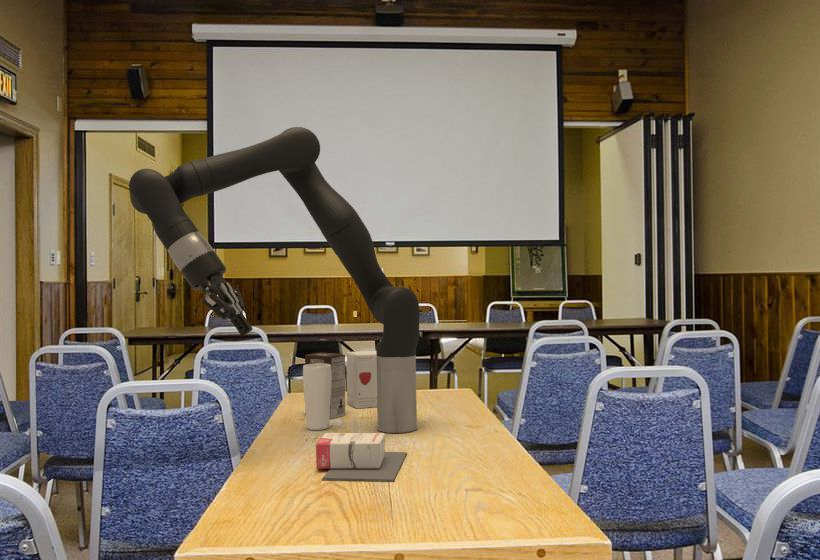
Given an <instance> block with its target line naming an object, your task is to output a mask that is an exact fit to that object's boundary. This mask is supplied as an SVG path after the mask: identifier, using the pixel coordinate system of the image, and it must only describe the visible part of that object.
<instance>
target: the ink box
mask: <svg viewBox="0 0 820 560" xmlns="http://www.w3.org/2000/svg"><path fill="white" fill-rule="evenodd" d="M385 433H386V432H374V433H373V432H325V433H323V435H322V436H321V437H320V438H319V440H318V441H317V442H316V443H315V463H316V464H315V465H316V466H315V467H316V469H317V470H319V469H320V470H322V469H325V470H326V469H328V470H330V469H336V468H380V465H381V463H382V461H383V458H384V452H386V451H385V449H386V448H385V445H386V434H385Z"/></svg>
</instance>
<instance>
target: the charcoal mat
mask: <svg viewBox="0 0 820 560" xmlns="http://www.w3.org/2000/svg"><path fill="white" fill-rule="evenodd" d="M407 454H408V452H407V451H385V452H384V458H383V461H382V463H381V465H380V468H336V469H328V471H327V472H326V473H325V474H324V476H323V477H322V479H321V480H322V481H336V482H337V481H344V482H345V481H347V482H387V483H388V482H391V483H392V482H393V483H394V482H395V480H396V479H397V476H398V474H399V472H400V470H401V467H402V466H403V463H404V461H405V459H406V457H407Z"/></svg>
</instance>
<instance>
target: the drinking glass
mask: <svg viewBox="0 0 820 560" xmlns="http://www.w3.org/2000/svg"><path fill="white" fill-rule="evenodd" d="M331 385H332V372H331V365H330V364H307V365H305V364H304V365H303V366H302V386H303V395H304V409H305V408H306V415H305V418H306V419H305V420H306V428H307V429H308V430H310V431H323V430H327V429H329V427H330V419H329V414H330V399H331Z"/></svg>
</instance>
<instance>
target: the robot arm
mask: <svg viewBox="0 0 820 560" xmlns="http://www.w3.org/2000/svg"><path fill="white" fill-rule="evenodd" d="M320 153H321V144H320V140H319V139H318V136H317V135H316V134H315V133H314V132H313V131H312V130H310V129H308V128H306V127H302V126H293V127H289V128H287V129H285V130H284V131H282V132H281V133H279V134H277V135H275V136H273V137H271V138H268V139H266V140H263V141H262V142H261V141H260V142H259V143H255V144H252V145H250V146H245V147H243V148H240V149H236V150H231V151H226V152H223V153H217V154H215V155H212V156H208V157H203V158H199V159H197V160H192V161H189V162H185V163H182V164H179V165H178V166H177V167H176V169H175V170H174V171H173V172H172V173H171V174H168V175H166V176H164V175H163V174H162V173H161V172H159V171H157V170H155V169H153V168H141V169H139V170H136V171H135V172H134V173H133V174H132V175H131V177H130V178H129V179H130V180H129V183H128V191H129V198H130V203H131V205H132V207H133V208H134V209H135V210H136V211H137V212H139V214H140V213H141V214H143V215H146V216H147V217H148V219H149V220H150V221H151V223H152V227H153V230H154V233H155V234H156V236H157V238H158V239H159V241H160V242H161V244H162V245H163V246H164V248H165V249H166V251H167V252H168V254H169V256H170V259H171V260H172V262H173V263H174V264H175V266H176V267H177V269H178V270H179V271H180V273H181V275H182V276H183V277H184V279H185V280H186V282H187V283H188V285H189V286H190V287H191V289H192V290H194V291H199V290H201V291H202V293H203V294H204V295H205V298H203V299H202V303H203V304H204V306H206V307H207V308H209V309H210V310H211V311H212V312H213V313H215V314H216V315H217V316H219V317H220V319H223V320H226V319H227V321H229V322H231V323H232V325H233V326H234V327H235V329H236V330H237V332H238V333H239V334H240V336H241V337H243V336H246V335H247V334H249V333H250V332H252V331H253V327H252V325H251V323H250V322H249V321H248V319H247V318H246V317H245V315H244V311H245V310H246V307H245V304H244V301H243V297H242V295H241V290H240V289H239V288H237V287H236V288H234V289H233V287H232V286H231V284H230V282H228V281H227V280H225V278H224V277H223V276H224V274H225V273H226V272H227V267H226V265H225V264H224V262H222V260H221V258H220V257H219V255H218V254H217V252H216V251H215V249H214V248H213V247H212V246H211V244H210V243H209V242H208V240H207V239H206V238H205V237H204V236H203V235H202V234H201V232H200V231H199V229H198V227H196V225H195V224H194V223H193V221H192V219H191V218H190V217H189V216H188V215H187V213H186V212H185V210H184V208H183V207H182V204H184V203H186V202H188V201H189V200H191V199H193V198H198V197H201V196H205V195H208V194H212V193H216V192H218V191H221V190H226V189H227V188H230V187H233V186H235V185H237V184H240V183H243V182H245V181H247V180H249V179H253V178H255V177H259V176H262V175H265V174H269V173H273V172H277V171H278V172H279V173H280V174H281V175H282V177H283V178H284V179H285V180H286V182H287V183H289V185H290V187H292V188H293V190H294V191H295V192H296V194H297V195H298V197H299V198H300V200H301V201H302V203H303V204H304V206H305V208H306V210H307V211H308V213H309V215H310V217H311V218H312V219H313V221H314V222H315V224H316V225H317V227H318V229H319V230H320V232H321V234H322V235H323V238H324V239H325V240H326V242H327V243H328V245H329V246H330V248H331V250H332V251H333V252H334V254H335V255H336V256H337V258H338V260H340V262H341V264H342V265H343V267H344V268H345V270H346V271H347V273H348V274H349V275H350V278H352V280H353V282H354V283H355V284H356V287H357V288H358V290H359V293H360V294H361V296H362V298H363V300H364V301H365V303H366V305H367V307H368V309H369V311H370V313H371V316H372V317H373V318H374V319H375V320H376V321H377V322H379V323H380V324H381V325H383V328H382V330H383V331H382V337H381V340H380V341H379V342H378V343H377V344H376V350H375V351H376V355H377V356H376V357H377V407H376V409H377V411H376V413H377V416H376V417H377V418H376V420H377V421H376V423H377V431H379V432H381V433H389V434H400V433H401V434H402V433H409V432H413V431H416V430H417V429H418V424H417V423H418V421H417V420H418V419H417V417H418V415H417V411H418V410H417V407H418V406H417V364H416V363H417V359H416V357H417V355H416V354H417V351H416V349H417V346H418V343H419V340H420V317H421V315H420V304H419V300H418V297H417V295H416V294H415V292H413V290H411V289H410V288H407V287H406V286H405V287H404V286H394V285H393V284H392V282H391V281H390V280H389V279H388V277H387V275H386V274H385V272H384V271H383V269H382V268H381V266H380V263H379V261H378V259H377V256H376V254H377V253H376V251H375V247H374V242H373V239H372V236H371V233H370V232H369V229H368V228H367V226H366V225H365V223H364V221H363V220H362V218H361V216H360V215H359V214H358V212H357V211H356V210H355V208H354V207H353V206H352V205H351V204H350V203H349V202H348V201H347V200H346V199H345V198H344V196H342V195H341V194H340V193H339V192H337V191H336V190H335V188H333V187H332V186H331V185H330V184H329V182H328V181H327V180H326V179H325V177H324V176H323V174H322V172H321V171H320V169H319V167H318V166H317V164H316V162H317V160H319V156H320Z"/></svg>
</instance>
